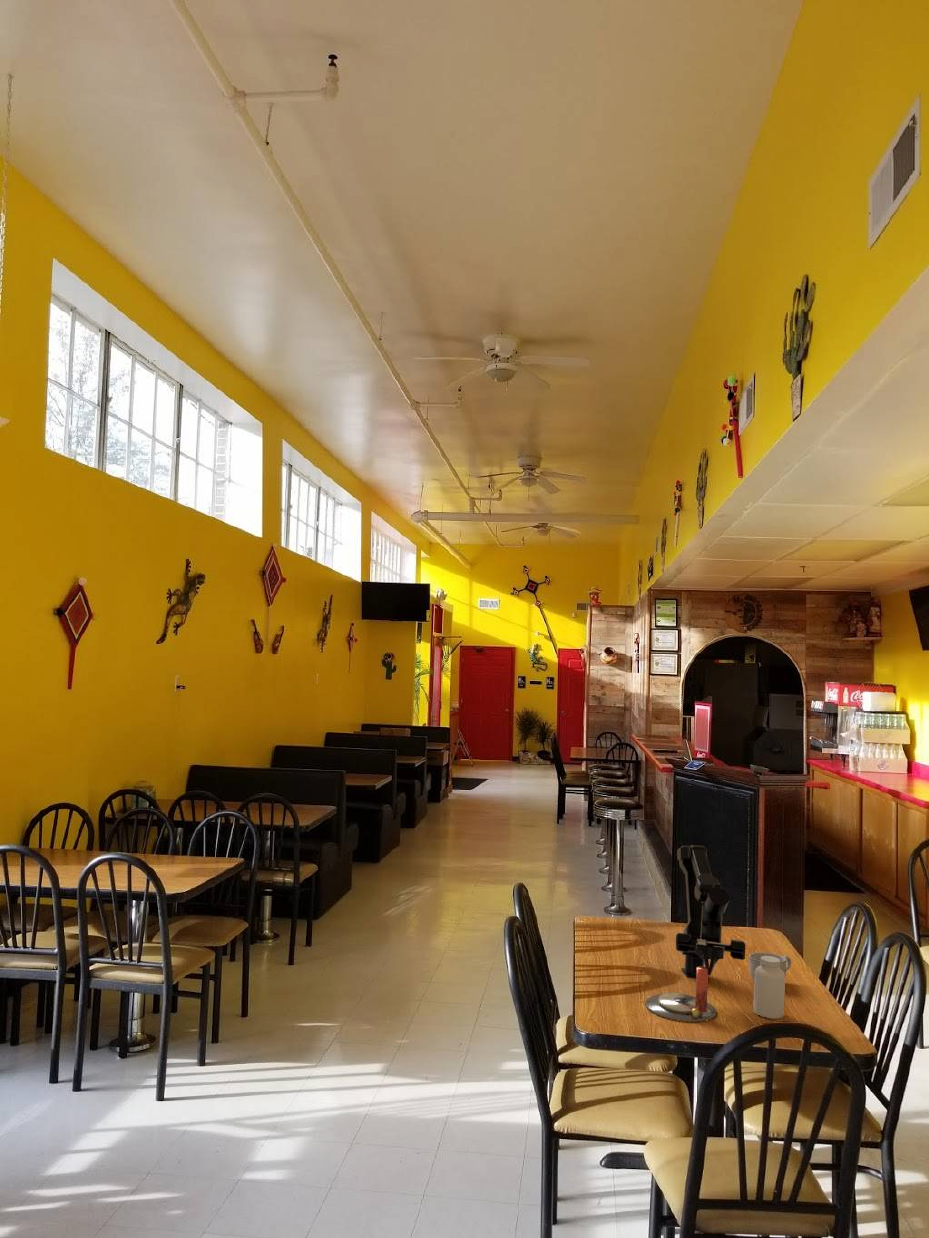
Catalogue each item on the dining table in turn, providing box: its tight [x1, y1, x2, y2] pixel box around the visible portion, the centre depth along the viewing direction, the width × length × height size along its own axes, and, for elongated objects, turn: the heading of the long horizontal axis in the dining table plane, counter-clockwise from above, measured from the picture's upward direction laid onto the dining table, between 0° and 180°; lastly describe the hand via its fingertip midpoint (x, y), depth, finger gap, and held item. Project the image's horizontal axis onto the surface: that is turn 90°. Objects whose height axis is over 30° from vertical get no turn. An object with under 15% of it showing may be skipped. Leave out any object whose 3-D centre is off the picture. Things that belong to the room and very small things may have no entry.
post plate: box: [645, 993, 717, 1023], centre depth 249 cm, size 19×19×3 cm
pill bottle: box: [752, 956, 786, 1020], centre depth 248 cm, size 8×8×15 cm
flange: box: [658, 965, 711, 1018], centre depth 248 cm, size 15×12×12 cm
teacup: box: [748, 952, 792, 981], centre depth 274 cm, size 14×11×8 cm
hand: (708, 974), depth 247 cm, fingers closed
